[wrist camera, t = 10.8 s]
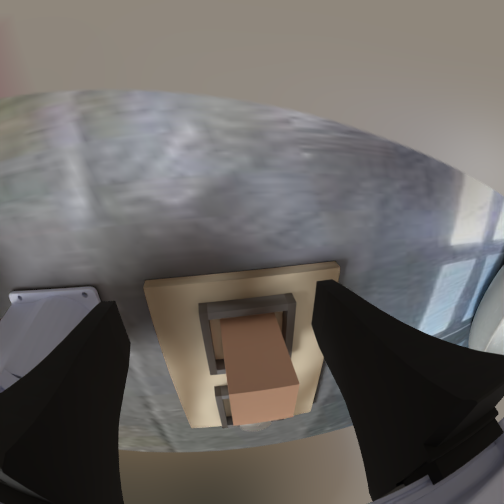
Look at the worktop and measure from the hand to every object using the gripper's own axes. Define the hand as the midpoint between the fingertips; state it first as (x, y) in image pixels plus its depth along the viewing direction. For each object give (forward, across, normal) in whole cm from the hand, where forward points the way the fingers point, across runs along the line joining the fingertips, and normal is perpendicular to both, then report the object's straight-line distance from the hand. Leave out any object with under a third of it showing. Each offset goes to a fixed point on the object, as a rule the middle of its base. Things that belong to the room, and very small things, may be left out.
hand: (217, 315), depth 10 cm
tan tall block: (+8, -2, +9) cm, 12 cm away
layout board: (+9, -2, +14) cm, 17 cm away
